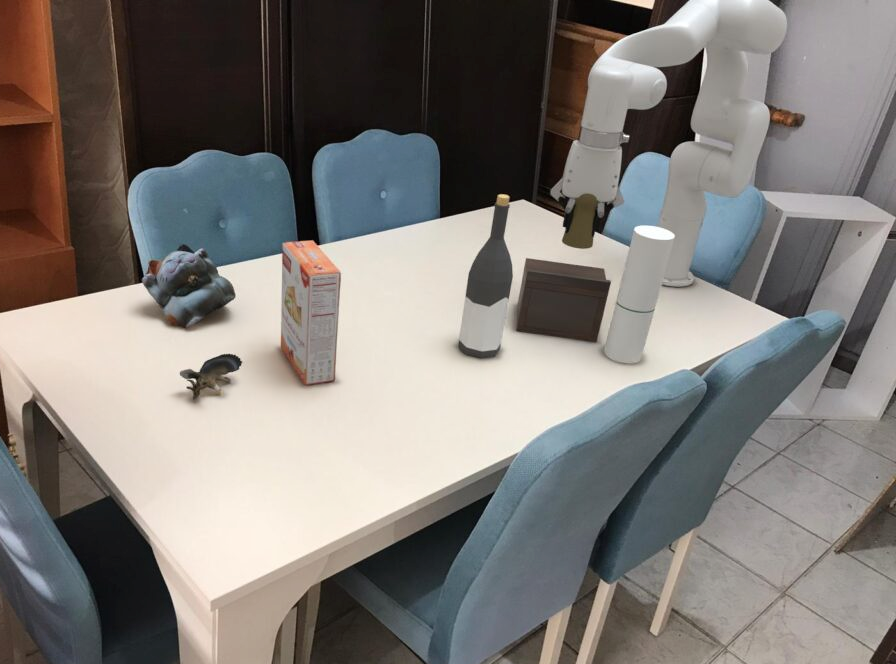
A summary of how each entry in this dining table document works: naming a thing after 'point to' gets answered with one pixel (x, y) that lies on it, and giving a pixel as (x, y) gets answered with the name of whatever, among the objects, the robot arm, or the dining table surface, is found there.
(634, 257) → the cylindrical container
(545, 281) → the dark wooden chest
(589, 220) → the olive brown pepper mill
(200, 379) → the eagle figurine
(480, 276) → the wine bottle
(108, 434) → the dining table surface
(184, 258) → the lucky cat figurine
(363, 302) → the dining table surface
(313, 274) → the cracker box
